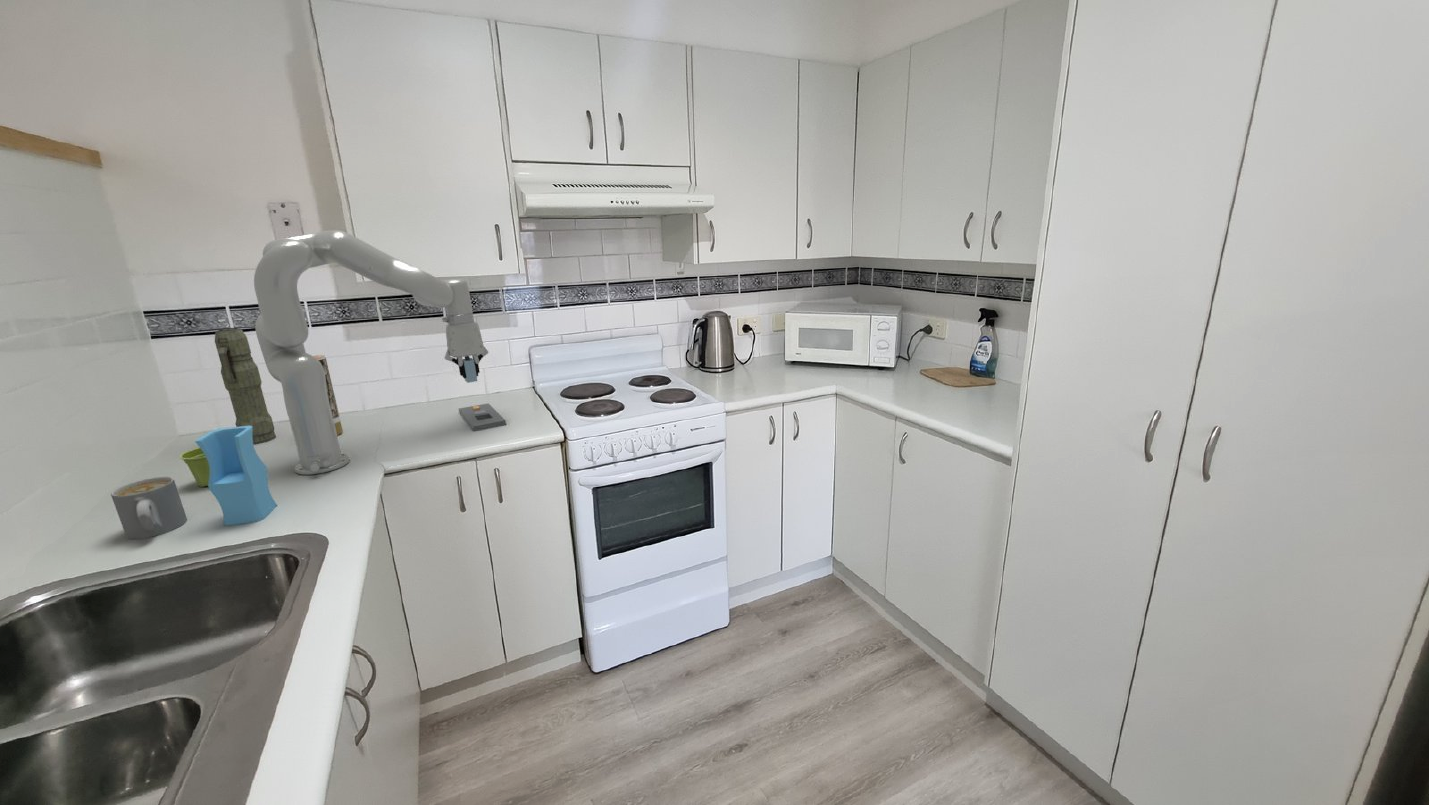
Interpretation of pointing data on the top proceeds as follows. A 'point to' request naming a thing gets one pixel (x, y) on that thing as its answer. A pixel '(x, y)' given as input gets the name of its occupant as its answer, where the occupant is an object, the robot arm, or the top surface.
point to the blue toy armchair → (237, 475)
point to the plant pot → (197, 465)
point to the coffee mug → (149, 507)
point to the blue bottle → (469, 369)
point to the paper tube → (330, 394)
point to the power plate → (482, 417)
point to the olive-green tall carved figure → (243, 384)
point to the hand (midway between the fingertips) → (470, 375)
